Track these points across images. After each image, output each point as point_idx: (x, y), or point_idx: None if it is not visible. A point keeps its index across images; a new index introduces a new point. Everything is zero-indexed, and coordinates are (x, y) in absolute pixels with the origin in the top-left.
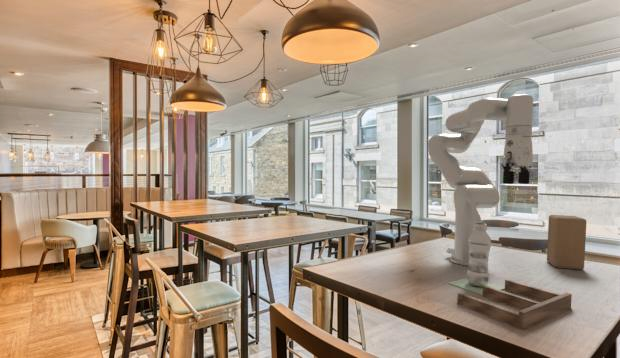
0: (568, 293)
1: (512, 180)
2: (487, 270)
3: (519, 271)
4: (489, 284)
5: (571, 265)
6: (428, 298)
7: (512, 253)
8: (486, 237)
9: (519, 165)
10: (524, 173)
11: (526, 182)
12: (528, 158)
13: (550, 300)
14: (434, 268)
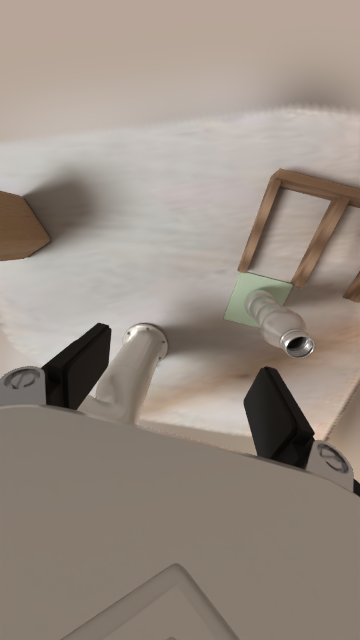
0: (281, 173)
1: (280, 381)
2: (268, 296)
3: (128, 277)
4: (239, 291)
5: (31, 215)
6: (346, 328)
7: (26, 311)
8: (299, 319)
9: (311, 472)
10: (74, 383)
11: (109, 334)
12: (57, 604)
13: (343, 189)
14: (212, 362)
